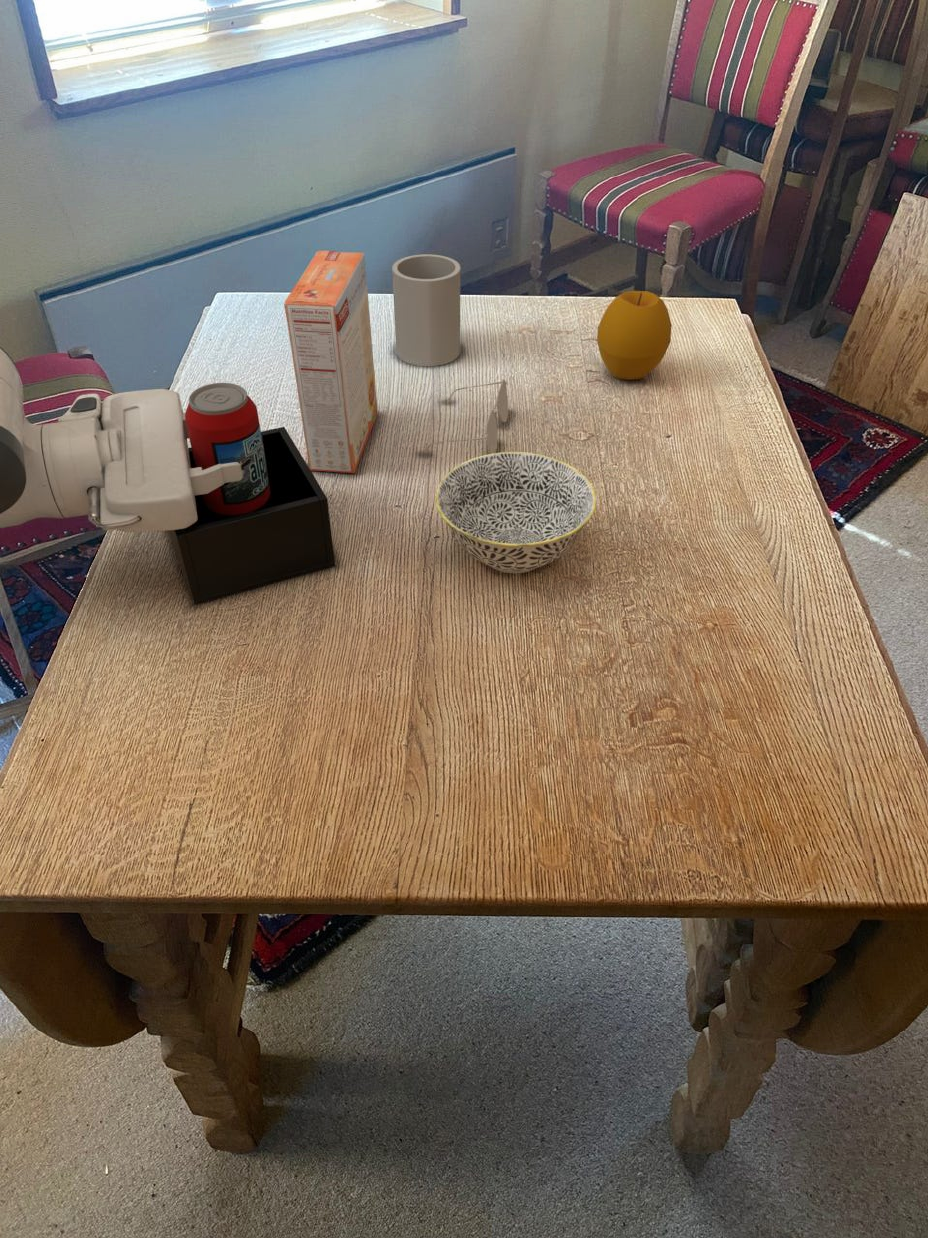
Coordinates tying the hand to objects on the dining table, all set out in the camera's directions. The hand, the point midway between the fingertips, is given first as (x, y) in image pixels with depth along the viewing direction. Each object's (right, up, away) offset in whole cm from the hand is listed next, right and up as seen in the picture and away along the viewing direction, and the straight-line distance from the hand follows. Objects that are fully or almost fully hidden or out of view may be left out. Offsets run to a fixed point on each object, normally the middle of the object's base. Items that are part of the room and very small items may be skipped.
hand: (236, 445), depth 88 cm
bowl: (+27, -10, +7) cm, 30 cm away
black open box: (-1, -9, +8) cm, 12 cm away
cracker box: (+7, +5, +23) cm, 25 cm away
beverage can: (-1, -5, +4) cm, 7 cm away
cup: (+17, +21, +41) cm, 49 cm away
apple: (+45, +16, +36) cm, 59 cm away
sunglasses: (+23, +6, +25) cm, 34 cm away
